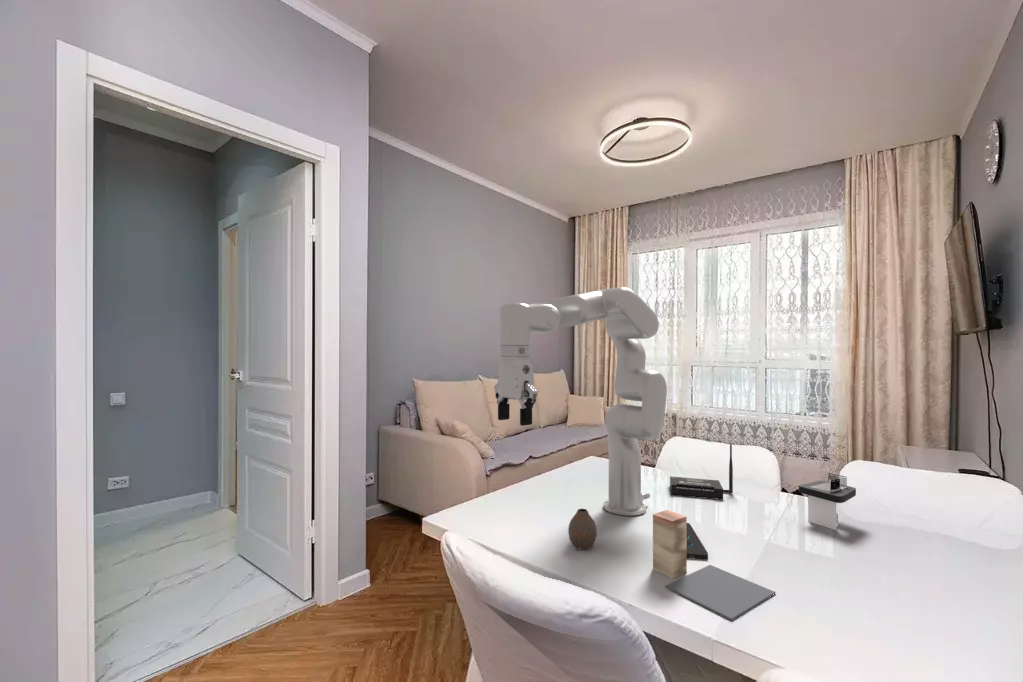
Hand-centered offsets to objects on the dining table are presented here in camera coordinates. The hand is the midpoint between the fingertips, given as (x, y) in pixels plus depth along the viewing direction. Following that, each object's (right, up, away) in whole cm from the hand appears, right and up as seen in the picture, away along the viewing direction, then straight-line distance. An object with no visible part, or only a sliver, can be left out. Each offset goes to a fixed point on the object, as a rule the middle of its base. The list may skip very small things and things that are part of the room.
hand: (514, 422), depth 114 cm
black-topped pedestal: (+89, -32, +16) cm, 96 cm away
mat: (+41, -30, -21) cm, 55 cm away
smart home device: (+42, -31, +3) cm, 53 cm away
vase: (+17, -31, -1) cm, 35 cm away
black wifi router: (+64, -32, +42) cm, 83 cm away
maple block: (+34, -30, -13) cm, 47 cm away
